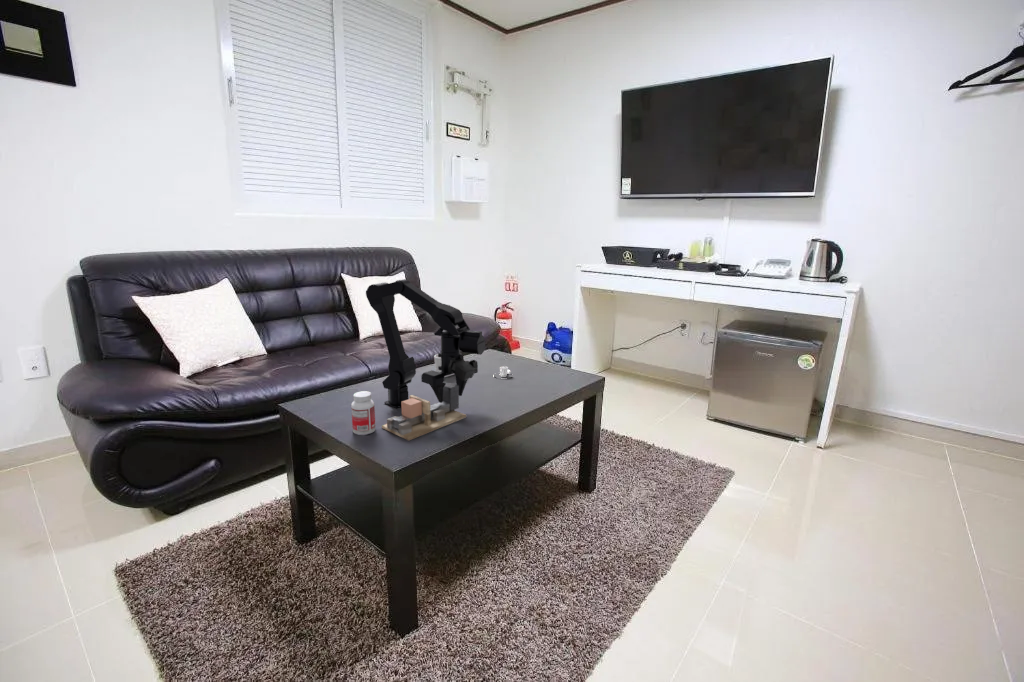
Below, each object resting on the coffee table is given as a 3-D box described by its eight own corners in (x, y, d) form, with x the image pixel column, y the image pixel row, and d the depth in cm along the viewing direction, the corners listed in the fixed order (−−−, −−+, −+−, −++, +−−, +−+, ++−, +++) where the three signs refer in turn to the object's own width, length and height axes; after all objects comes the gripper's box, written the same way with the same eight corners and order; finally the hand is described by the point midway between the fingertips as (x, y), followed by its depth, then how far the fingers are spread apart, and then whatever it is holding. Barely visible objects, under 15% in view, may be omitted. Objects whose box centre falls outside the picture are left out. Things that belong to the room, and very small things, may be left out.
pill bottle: (368, 424, 138) (366, 388, 135) (379, 431, 134) (378, 394, 131) (348, 430, 133) (346, 393, 131) (359, 437, 129) (357, 399, 127)
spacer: (401, 414, 135) (401, 401, 134) (412, 410, 138) (412, 397, 137) (410, 418, 133) (410, 405, 132) (421, 414, 136) (421, 401, 135)
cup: (449, 369, 192) (449, 350, 190) (464, 373, 187) (464, 353, 185) (430, 375, 183) (429, 355, 181) (445, 380, 179) (445, 359, 177)
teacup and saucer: (505, 372, 191) (505, 362, 190) (519, 377, 186) (519, 367, 185) (488, 376, 185) (489, 366, 184) (502, 381, 180) (503, 371, 179)
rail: (381, 428, 136) (380, 401, 134) (439, 407, 152) (439, 383, 150) (408, 440, 128) (408, 413, 126) (466, 417, 145) (466, 392, 143)
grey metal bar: (392, 426, 133) (391, 401, 131) (450, 405, 150) (450, 382, 148) (400, 430, 131) (399, 404, 129) (458, 408, 148) (458, 385, 146)
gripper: (446, 362, 131) (446, 414, 135) (490, 349, 145) (490, 397, 149) (419, 354, 138) (420, 404, 142) (465, 343, 152) (464, 389, 156)
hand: (450, 399), depth 147 cm, fingers open, 8 cm apart
